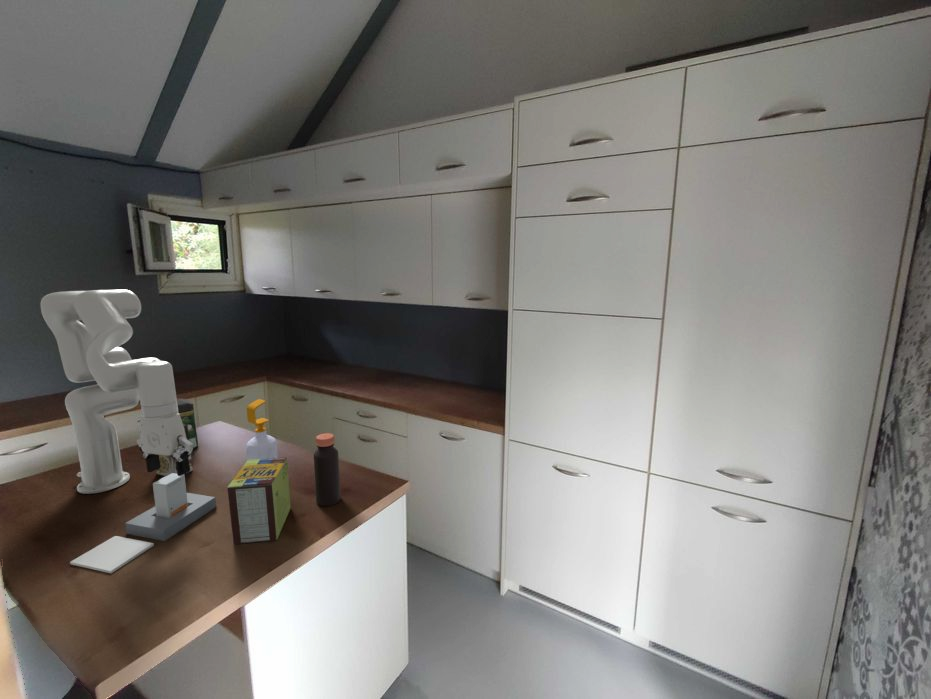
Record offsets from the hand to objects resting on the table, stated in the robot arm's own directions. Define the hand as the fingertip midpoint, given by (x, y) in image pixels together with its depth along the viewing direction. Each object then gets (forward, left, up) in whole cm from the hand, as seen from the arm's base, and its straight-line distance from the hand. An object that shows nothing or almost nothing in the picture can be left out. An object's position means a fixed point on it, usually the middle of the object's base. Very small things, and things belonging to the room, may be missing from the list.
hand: (169, 471), depth 111 cm
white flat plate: (-2, -15, -14) cm, 20 cm away
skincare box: (-1, 0, -14) cm, 14 cm away
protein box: (+24, +4, -14) cm, 29 cm away
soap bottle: (+3, +30, -14) cm, 33 cm away
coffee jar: (-39, +39, -14) cm, 57 cm away
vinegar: (+34, +19, -14) cm, 42 cm away
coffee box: (-25, +22, -14) cm, 36 cm away
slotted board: (-1, 0, -14) cm, 14 cm away
